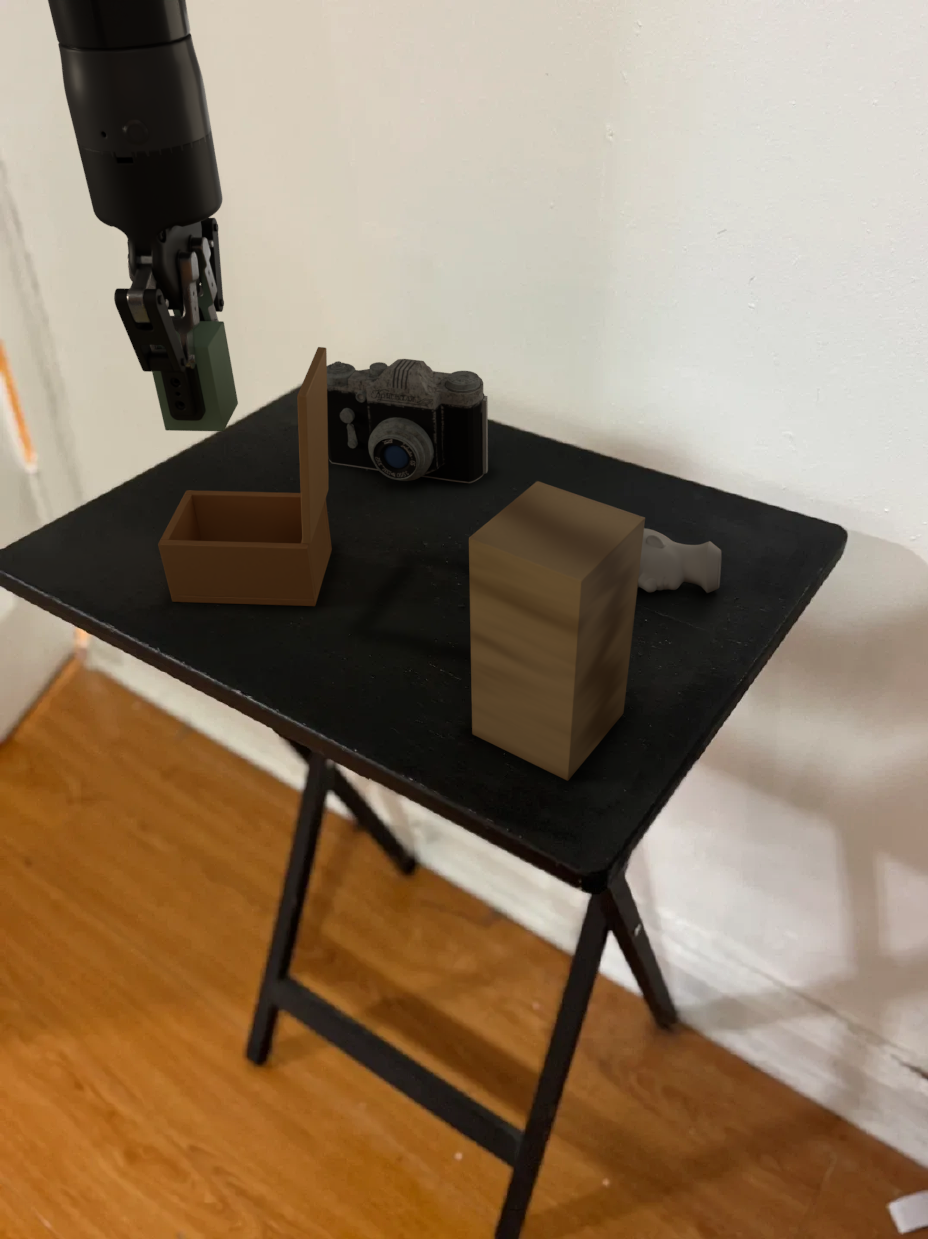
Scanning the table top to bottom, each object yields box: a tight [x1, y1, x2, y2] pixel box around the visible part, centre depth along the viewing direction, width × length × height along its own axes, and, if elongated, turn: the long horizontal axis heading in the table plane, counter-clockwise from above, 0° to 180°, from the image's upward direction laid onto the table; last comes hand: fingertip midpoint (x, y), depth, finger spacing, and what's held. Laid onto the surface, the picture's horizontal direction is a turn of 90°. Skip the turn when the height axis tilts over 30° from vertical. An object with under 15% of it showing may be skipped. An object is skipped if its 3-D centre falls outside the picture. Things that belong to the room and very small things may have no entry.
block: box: [151, 321, 239, 432], centre depth 68 cm, size 4×4×6 cm
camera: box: [327, 358, 489, 484], centre depth 86 cm, size 15×7×10 cm, turn 73°
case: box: [157, 489, 333, 607], centre depth 77 cm, size 11×7×5 cm
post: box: [468, 480, 646, 782], centre depth 61 cm, size 7×7×15 cm
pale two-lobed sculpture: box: [637, 527, 723, 594], centre depth 75 cm, size 4×8×5 cm
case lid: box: [296, 346, 329, 544], centre depth 71 cm, size 11×7×1 cm
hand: (198, 400), depth 69 cm, fingers closed on block, 4 cm apart
